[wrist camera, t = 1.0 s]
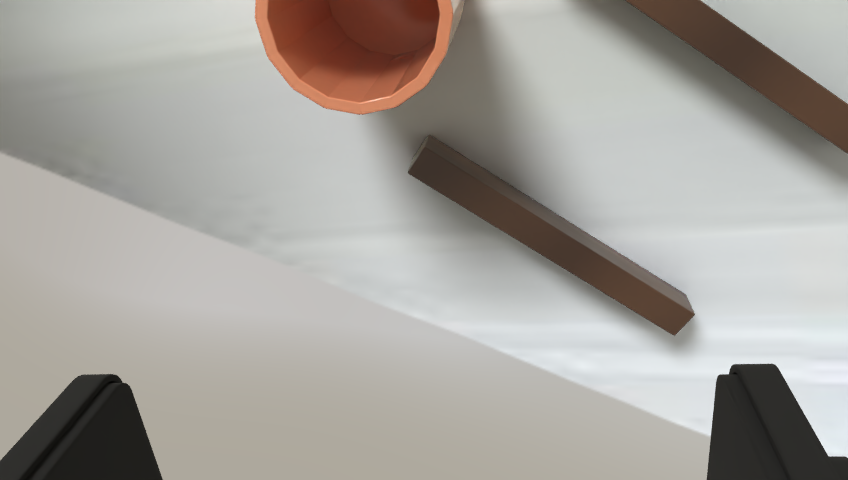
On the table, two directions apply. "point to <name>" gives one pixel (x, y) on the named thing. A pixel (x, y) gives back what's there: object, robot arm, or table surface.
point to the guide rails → (582, 253)
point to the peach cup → (357, 48)
